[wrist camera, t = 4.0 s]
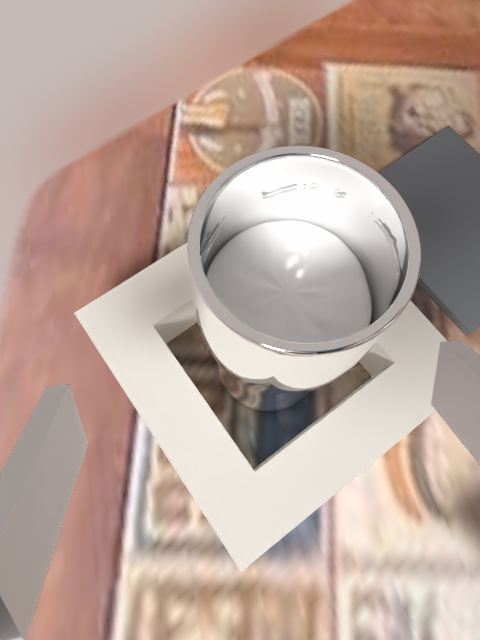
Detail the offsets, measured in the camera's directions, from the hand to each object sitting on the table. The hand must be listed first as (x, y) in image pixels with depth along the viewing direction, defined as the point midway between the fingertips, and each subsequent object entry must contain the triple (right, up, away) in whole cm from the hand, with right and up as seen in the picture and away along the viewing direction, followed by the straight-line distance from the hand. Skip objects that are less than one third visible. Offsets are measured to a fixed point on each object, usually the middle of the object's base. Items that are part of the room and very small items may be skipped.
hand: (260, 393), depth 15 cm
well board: (+1, 0, +11) cm, 11 cm away
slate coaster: (+14, +9, +14) cm, 22 cm away
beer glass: (+1, 0, +11) cm, 11 cm away
